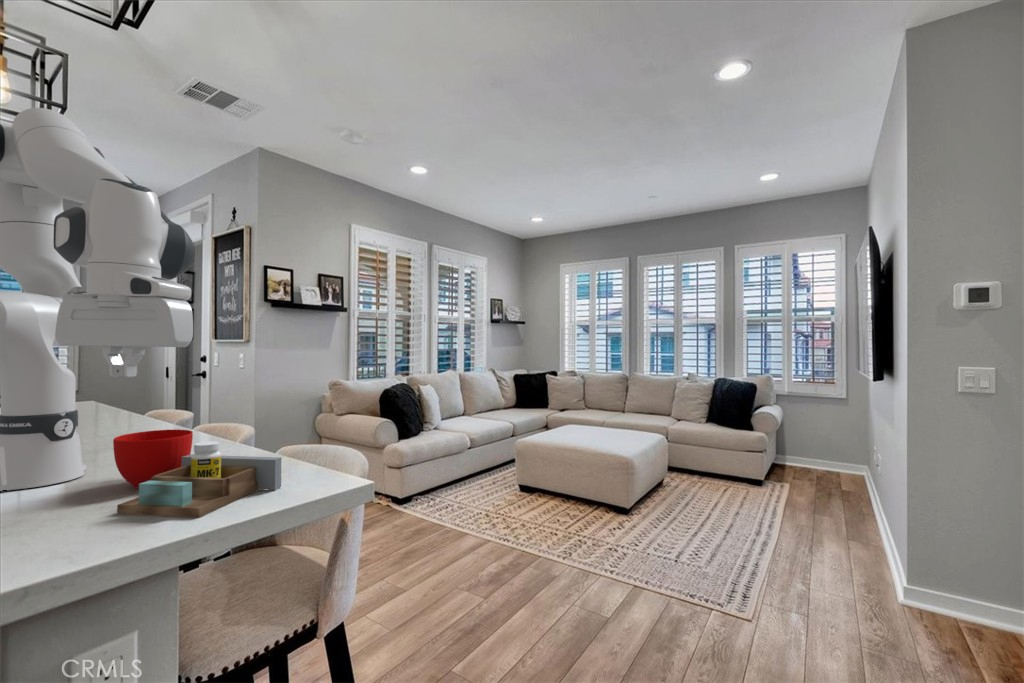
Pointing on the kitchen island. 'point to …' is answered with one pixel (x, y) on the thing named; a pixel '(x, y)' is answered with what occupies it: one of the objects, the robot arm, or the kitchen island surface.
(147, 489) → the divided wooden tray
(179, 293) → the robot arm
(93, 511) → the kitchen island surface
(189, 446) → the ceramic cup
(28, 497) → the kitchen island surface
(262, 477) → the board
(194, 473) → the supplement bottle
